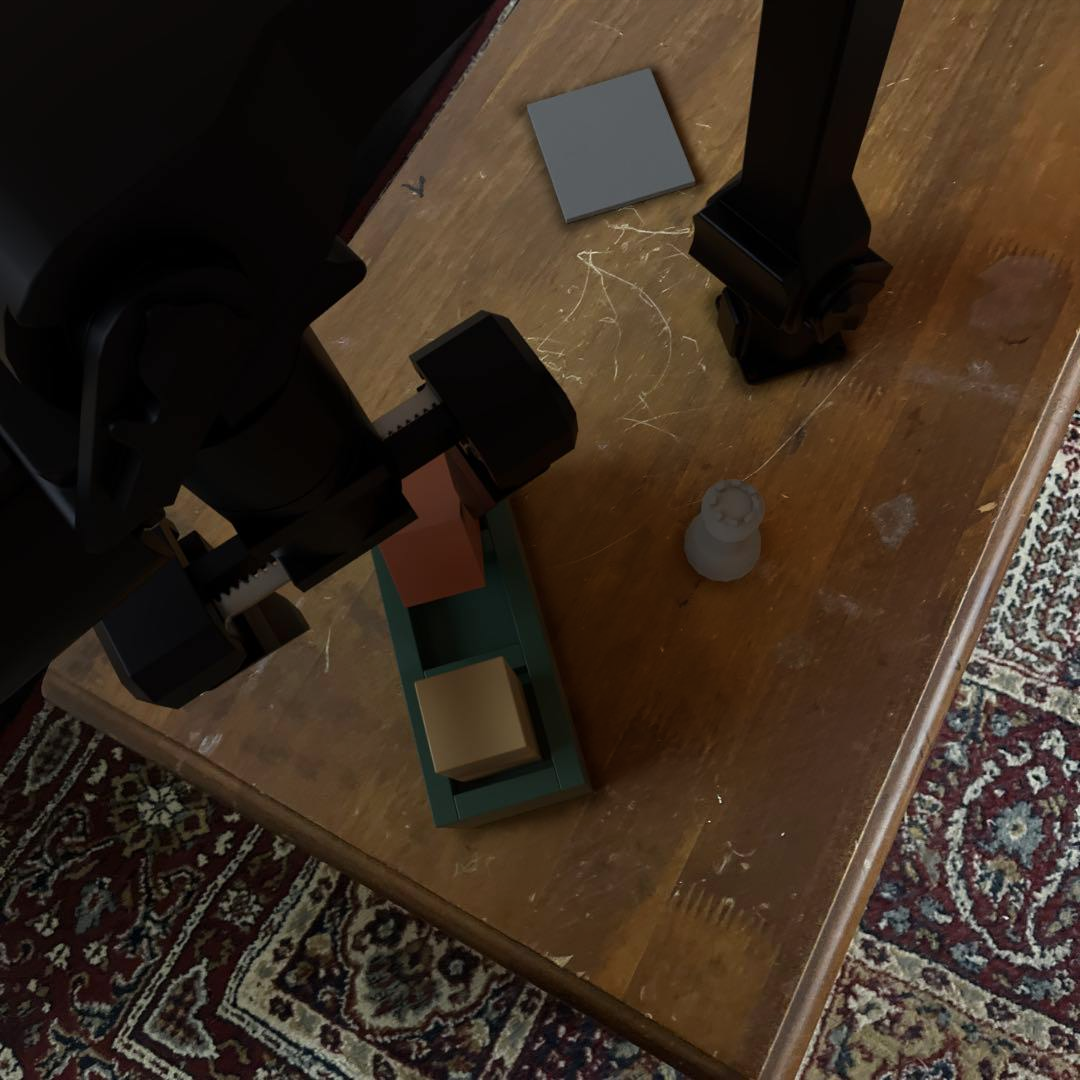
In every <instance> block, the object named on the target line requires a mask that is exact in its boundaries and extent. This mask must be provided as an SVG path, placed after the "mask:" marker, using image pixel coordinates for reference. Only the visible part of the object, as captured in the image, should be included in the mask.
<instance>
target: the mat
mask: <svg viewBox="0 0 1080 1080" xmlns="http://www.w3.org/2000/svg"><path fill="white" fill-rule="evenodd" d="M526 107H527V112H528V116H529V119H530V120H531V124H532V127H533V130H534V132H535V135H536V138H537V141H538V144H539V147H540V150H541V153H542V156H543V159H544V162H545V164H546V167H547V170H548V173H549V177H550V179H551V182H552V185H553V188H554V191H555V194H556V197H557V200H558V203H559V205H560V208H561V211H562V214H563V217H564V220H565V223H566V224H571V223H574V222H577V221H580V220H583V219H587V218H590V217H593V216H598V215H600V214H603V213H607V212H611V211H614V210H617V209H621V208H623V207H627V206H630V205H633V204H637V203H640V202H643V201H647V200H651V199H653V198H657V197H660V196H661V197H662V196H663V195H664V196H665V195H667V194H670V193H674V192H677V191H680V190H683V189H684V190H685V189H687V188H691V187H694V186H696V178H695V176H694V173H693V171H692V169H691V166H690V164H689V161H688V158H687V156H686V153H685V151H684V149H683V146H682V144H681V141H680V138H679V136H678V134H677V131H676V128H675V127H674V124H673V121H672V119H671V116H670V114H669V110H668V109H667V106H666V104H665V102H664V100H663V96H662V93H661V91H660V89H659V87H658V84H657V82H656V79H655V76H654V73H653V72H652V69H651V67H648V68H644V69H640V70H638V71H634V72H631V73H628V74H624V75H621V76H618V77H614V78H611V79H608V80H605V81H601V82H598V83H594V84H592V85H588V86H584V87H581V88H577V89H575V90H571V91H568V92H564V93H561V94H558V95H554V96H551V97H548V98H545V99H541V100H538V101H535V102H531V103H528V104H526Z"/></svg>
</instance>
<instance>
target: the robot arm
mask: <svg viewBox="0 0 1080 1080" xmlns="http://www.w3.org/2000/svg"><path fill="white" fill-rule="evenodd" d="M496 1H497V0H0V706H1V705H2V704H3V703H4V702H6V701H7V700H9V698H10V697H11V696H13V695H14V694H15V693H16V692H18V691H19V690H20V689H22V687H24V686H25V685H26V684H27V683H29V681H31V680H33V678H34V677H35V676H37V674H39V673H40V672H41V671H43V670H44V669H45V668H46V667H47V666H48V665H50V664H51V663H52V662H53V661H54V660H56V659H57V658H58V657H59V656H60V655H62V654H63V653H64V652H65V651H66V650H68V648H70V647H71V646H72V645H73V644H74V643H76V642H77V641H78V640H79V639H80V638H82V637H83V636H84V635H86V633H88V632H89V631H90V630H91V629H93V631H94V633H95V635H96V637H97V638H98V641H99V643H100V644H101V647H102V649H103V650H104V652H105V654H106V657H107V658H108V661H109V662H110V664H111V666H112V668H113V670H114V673H115V674H116V676H117V678H118V680H119V683H120V684H121V685H122V686H123V687H124V688H125V689H126V690H127V691H128V692H129V694H131V696H132V697H133V698H134V699H135V700H137V701H140V702H144V703H147V704H150V705H155V706H158V707H163V708H167V709H172V710H180V709H181V708H183V707H184V706H186V705H187V704H189V703H191V702H192V701H193V700H195V699H196V698H199V696H201V695H203V694H204V693H206V692H211V691H214V690H217V689H218V688H220V687H221V686H222V685H224V684H225V683H228V682H229V681H230V680H232V679H233V678H235V677H237V676H238V675H240V674H241V673H243V672H245V671H246V670H248V669H249V668H251V667H253V666H254V665H257V663H259V662H261V661H262V660H264V659H266V658H267V657H269V656H270V655H272V654H274V653H275V652H277V651H278V650H280V649H281V648H283V647H284V646H286V645H287V644H289V643H291V642H293V641H294V640H296V639H297V638H299V637H300V636H302V635H304V634H305V633H308V631H310V630H311V625H310V624H309V622H308V621H307V619H306V617H305V616H304V614H303V613H302V611H301V610H300V609H299V608H298V606H296V605H295V604H294V603H292V601H291V600H289V599H288V598H287V597H285V596H284V595H282V594H281V593H279V592H276V591H278V590H279V589H281V588H282V587H284V586H285V585H287V584H288V583H292V585H293V586H294V587H295V588H296V589H298V590H299V591H301V592H302V593H303V594H305V593H307V592H308V591H309V590H311V589H313V588H314V587H316V586H317V585H319V584H320V583H321V582H324V580H325V581H326V579H328V578H330V577H331V576H333V575H334V574H336V573H337V572H339V571H340V570H342V569H343V568H345V567H347V566H348V565H349V564H351V563H353V562H354V561H355V560H357V559H359V558H360V557H361V556H364V555H365V554H366V553H368V552H369V551H371V549H372V548H374V547H375V546H377V545H378V544H380V543H381V542H383V541H384V540H386V539H387V538H389V537H391V536H392V535H394V534H395V533H397V532H398V531H400V530H401V529H403V528H404V527H406V526H407V525H409V524H410V523H412V522H413V521H415V520H417V519H418V518H419V517H418V515H417V514H416V512H415V511H414V509H413V508H412V506H411V505H410V503H409V502H408V500H407V499H406V497H405V496H404V494H403V493H402V479H404V478H406V477H407V476H409V475H410V474H412V473H413V472H415V471H416V470H418V469H419V468H421V467H422V466H424V465H426V464H427V463H429V462H430V461H432V460H433V459H435V458H436V457H438V456H439V455H441V454H443V453H444V455H445V458H446V462H447V465H448V469H449V472H450V476H451V479H452V483H453V486H454V489H455V491H456V493H457V494H458V496H459V498H460V500H461V501H462V503H463V505H464V506H465V508H466V509H467V511H468V512H469V514H470V515H471V517H472V518H473V519H474V520H477V519H479V518H480V517H482V516H483V515H484V514H486V513H487V512H489V511H490V510H491V509H493V508H494V507H496V506H497V505H498V504H500V503H501V502H503V501H504V500H506V499H507V498H509V499H510V497H511V496H513V495H514V494H516V493H517V492H519V491H520V490H522V489H523V488H524V487H526V486H527V485H528V484H530V483H531V482H533V481H534V480H536V479H537V478H538V477H540V476H541V475H543V474H545V473H546V472H547V471H549V469H550V468H551V466H552V465H553V464H554V463H555V462H557V461H559V460H560V459H562V458H563V457H565V456H566V455H567V454H569V453H571V452H573V451H574V450H575V449H576V445H577V439H578V434H579V423H578V417H577V411H576V410H575V408H574V406H573V403H572V402H571V400H570V399H569V395H567V393H566V392H565V390H564V389H563V388H562V386H561V385H560V384H559V383H558V381H557V380H556V378H555V377H554V376H553V375H552V373H551V372H550V371H549V369H548V368H547V367H546V366H545V364H544V362H542V360H541V359H540V358H539V356H538V355H537V354H536V352H535V351H534V350H533V348H532V347H531V345H529V343H528V342H527V341H526V339H525V338H524V337H523V335H522V334H521V333H520V332H519V330H518V329H517V328H516V326H515V325H514V324H513V322H512V321H511V319H509V317H507V316H504V315H502V314H499V313H495V312H492V311H488V310H485V309H480V310H479V311H477V312H475V313H474V314H472V315H471V316H469V317H467V318H466V319H465V320H463V321H462V322H460V323H458V324H457V325H455V326H453V327H452V328H450V329H448V330H447V331H445V332H444V333H442V334H440V335H439V336H437V337H436V338H434V339H433V340H431V341H430V342H428V343H426V344H425V345H423V346H422V347H420V348H419V349H418V350H416V351H414V352H413V353H411V354H410V355H408V359H409V360H410V362H411V365H412V367H413V369H414V370H415V372H416V374H417V375H418V376H419V378H420V379H421V380H422V381H424V382H423V383H422V384H421V385H419V386H418V387H416V388H415V389H416V390H415V391H416V392H417V393H415V394H414V395H412V396H411V397H409V398H407V399H406V400H404V401H403V402H401V403H399V404H398V405H396V406H395V407H393V408H392V409H391V410H389V411H387V412H386V413H384V414H383V415H381V416H379V417H378V418H376V419H375V420H373V421H371V420H370V417H369V416H368V414H367V413H366V412H365V410H364V408H363V406H362V405H361V403H360V402H359V400H358V398H357V397H356V395H355V394H354V392H353V390H352V389H351V387H350V386H349V384H348V383H347V381H346V379H345V378H344V377H343V375H342V374H341V372H340V370H339V369H338V367H337V366H336V364H335V363H334V361H333V359H332V358H331V356H330V355H329V353H328V352H327V350H326V349H325V347H324V345H323V344H322V342H321V341H320V339H319V338H318V336H317V335H316V333H315V331H314V329H313V328H312V327H311V325H312V324H313V323H314V322H315V321H317V319H318V318H320V317H321V316H322V315H324V314H325V313H326V312H327V311H329V310H330V309H331V308H332V307H333V306H335V305H336V304H337V303H338V302H340V300H342V299H343V298H344V297H346V296H347V295H348V294H349V293H350V292H352V291H353V290H354V289H355V288H356V287H358V286H359V285H361V283H362V282H363V281H364V280H365V278H366V276H367V272H368V267H367V264H366V263H365V261H364V260H363V259H362V258H361V257H360V256H359V255H358V254H357V253H356V252H355V251H354V250H353V249H352V248H351V247H350V246H348V245H347V243H345V242H344V240H343V239H342V238H341V237H339V236H338V234H337V233H338V229H339V224H340V221H341V217H342V213H343V209H344V206H345V205H344V204H345V201H346V197H347V193H348V189H349V185H350V181H351V177H352V173H353V169H354V165H355V161H356V157H357V152H358V151H359V148H360V146H361V144H362V143H363V142H364V141H365V140H366V139H367V137H369V134H370V133H371V132H372V131H373V129H374V128H375V127H376V126H377V124H378V123H379V122H380V121H381V119H382V118H383V116H384V115H385V114H386V113H387V112H388V110H389V109H390V108H391V107H392V105H394V103H395V102H396V101H397V100H398V99H399V98H400V97H401V96H402V95H403V94H404V93H405V92H406V91H407V90H408V89H409V88H410V87H411V86H412V85H413V84H414V83H415V82H416V81H417V80H418V79H419V78H420V77H421V76H422V75H423V74H424V73H425V72H426V71H427V70H428V69H429V68H430V67H431V66H432V65H433V64H434V63H435V62H436V61H437V60H438V59H439V58H440V57H441V56H442V55H443V54H444V53H445V52H446V51H447V50H448V49H449V48H450V47H451V46H452V45H453V44H454V43H455V42H456V41H457V40H458V39H459V38H460V37H461V36H462V35H463V34H464V32H466V31H467V30H468V29H469V28H470V27H471V26H472V25H473V24H474V23H475V22H476V21H477V20H478V19H480V17H481V16H482V15H483V14H484V13H485V12H486V11H487V10H488V9H489V8H490V7H491V6H492V5H493V4H494V3H495V2H496ZM904 3H905V0H762V3H761V12H760V13H761V15H760V21H759V29H758V36H757V37H758V38H757V45H756V53H755V62H754V70H753V78H752V84H751V94H750V102H749V110H748V118H747V125H746V133H745V142H744V148H743V149H744V150H743V156H742V167H741V169H740V170H739V171H738V172H737V173H735V174H734V175H733V176H732V177H731V178H730V179H728V180H727V182H725V183H724V184H723V185H722V186H721V187H720V188H719V189H718V190H716V191H715V192H714V193H713V194H712V195H710V196H709V197H708V199H707V200H706V202H705V205H704V208H701V209H700V210H699V211H698V212H696V213H695V214H694V215H692V217H691V218H692V223H693V229H694V230H693V231H694V233H693V237H692V242H691V245H690V247H689V248H688V249H689V250H688V252H687V254H688V255H689V256H690V257H691V258H693V259H694V260H695V261H696V262H698V263H699V264H700V266H702V267H703V268H705V269H706V270H707V271H708V272H709V273H711V275H712V276H714V277H715V278H717V279H718V281H720V283H722V284H724V285H725V286H724V287H723V288H722V290H721V293H720V294H718V295H717V296H716V298H715V301H714V306H715V309H716V312H717V320H716V325H717V328H718V331H719V333H720V336H721V338H722V341H723V343H724V346H725V349H726V351H727V354H728V356H729V357H730V358H732V359H735V361H736V363H737V365H738V366H737V367H738V369H739V370H740V373H741V376H742V378H743V381H744V382H745V384H747V385H748V386H755V385H760V384H762V383H765V382H769V381H773V380H776V379H779V378H782V377H786V376H789V375H793V374H797V373H799V372H802V371H803V372H804V371H807V370H809V369H813V368H816V367H820V366H823V365H827V364H831V363H832V362H833V363H834V362H836V361H839V360H842V359H844V358H845V356H846V355H847V351H848V349H847V346H846V343H845V341H844V339H843V337H842V334H841V332H842V331H856V330H858V328H859V327H860V326H862V325H863V323H864V321H865V320H866V317H867V315H868V312H869V304H870V303H871V302H872V301H873V300H874V299H875V298H876V297H877V296H878V295H879V294H880V292H881V291H882V290H883V289H884V288H885V286H886V284H885V282H886V281H887V279H888V278H889V276H890V275H891V273H892V272H893V270H894V265H892V264H891V263H890V262H889V261H887V260H886V259H885V258H884V257H882V256H881V255H880V254H878V253H877V252H875V250H873V249H872V248H871V247H869V244H870V240H871V233H872V221H871V218H870V216H869V213H868V211H867V209H866V206H865V204H864V202H863V200H862V197H861V194H860V192H859V190H858V188H857V185H856V183H855V181H854V178H853V175H854V171H855V168H856V164H857V162H858V158H859V155H860V151H861V148H862V145H863V140H864V137H865V134H866V132H867V131H866V130H867V128H868V124H869V120H870V117H871V114H872V110H873V107H874V104H875V101H876V97H877V94H878V90H879V86H880V84H881V80H882V77H883V73H884V70H885V67H886V64H887V59H888V56H889V53H890V50H891V47H892V43H893V39H894V36H895V34H896V31H897V30H896V29H897V26H898V23H899V20H900V15H901V13H902V10H903V6H904ZM835 350H839V351H840V352H836V351H835ZM750 375H753V376H755V377H754V378H751V377H750ZM182 486H183V487H184V488H185V489H186V490H188V491H189V492H190V493H192V494H193V495H194V496H195V497H197V498H198V499H199V500H200V501H202V502H203V503H204V504H206V505H207V506H208V507H209V508H211V509H212V510H213V511H215V512H216V514H218V515H220V516H221V517H222V518H224V519H225V520H226V521H228V523H230V524H231V525H232V527H233V529H234V530H235V532H236V534H235V535H233V536H231V537H229V538H228V539H226V540H225V541H223V542H222V543H220V544H219V545H218V546H215V547H213V546H212V545H211V544H210V542H209V541H208V540H207V539H206V538H204V536H202V534H200V533H199V532H198V531H197V530H195V529H194V530H192V531H191V532H189V533H187V534H186V535H184V536H183V537H181V538H179V537H180V535H181V533H180V532H179V529H178V528H177V526H176V525H175V523H174V521H172V520H170V518H168V517H166V516H167V512H166V510H165V508H168V507H172V506H174V505H175V503H176V501H177V498H178V496H179V492H180V490H181V488H182ZM274 563H276V564H274ZM265 569H266V570H265ZM256 575H257V576H256Z"/></svg>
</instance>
